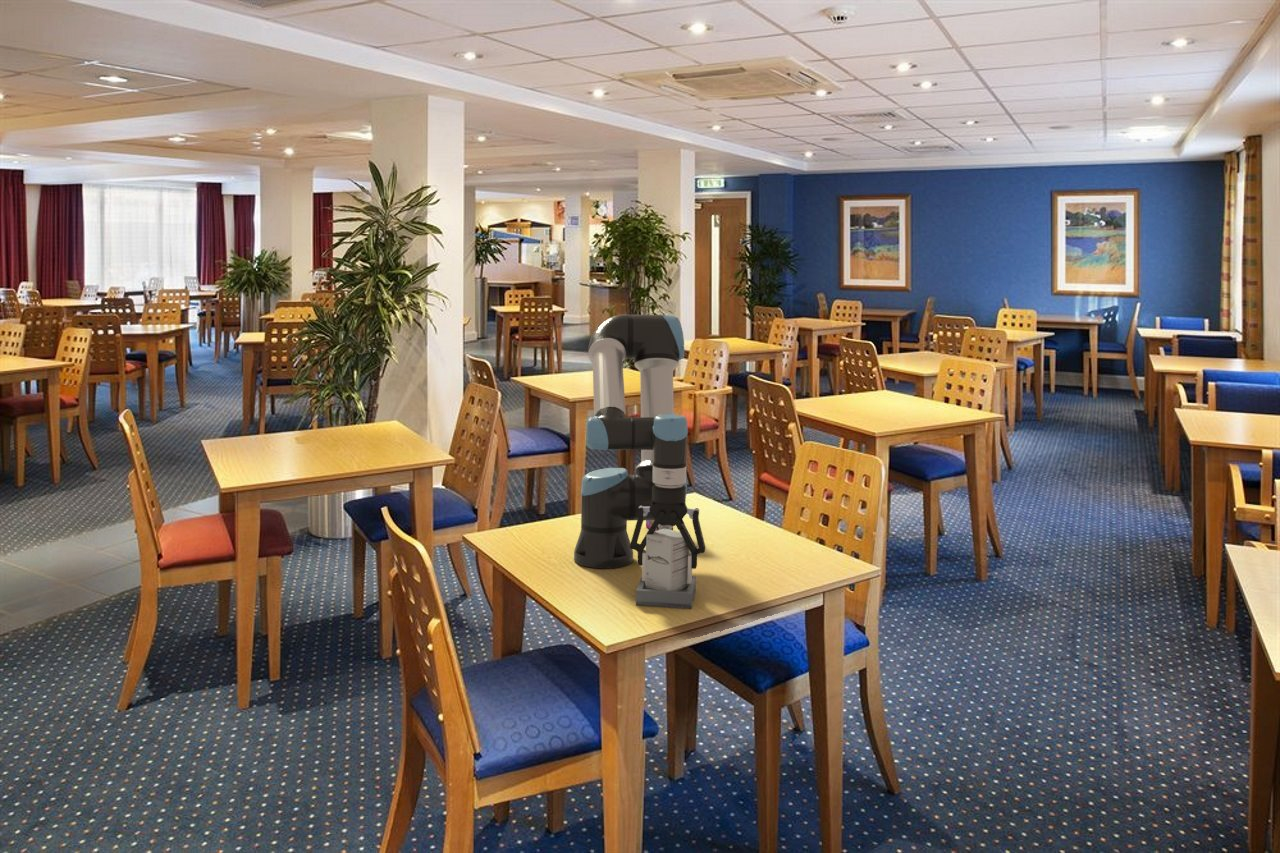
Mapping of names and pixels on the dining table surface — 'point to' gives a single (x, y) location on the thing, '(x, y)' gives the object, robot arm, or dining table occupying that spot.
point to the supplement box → (666, 561)
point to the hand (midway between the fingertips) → (666, 580)
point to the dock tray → (666, 596)
